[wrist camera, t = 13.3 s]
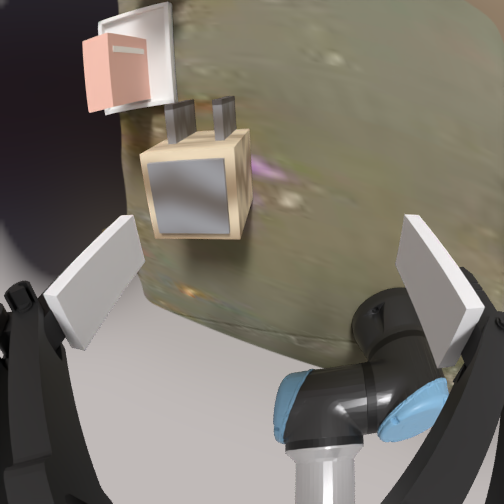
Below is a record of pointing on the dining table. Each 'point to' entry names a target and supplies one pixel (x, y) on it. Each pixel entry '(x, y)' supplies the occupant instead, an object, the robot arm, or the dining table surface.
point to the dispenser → (199, 175)
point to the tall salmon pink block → (115, 70)
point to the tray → (149, 50)
